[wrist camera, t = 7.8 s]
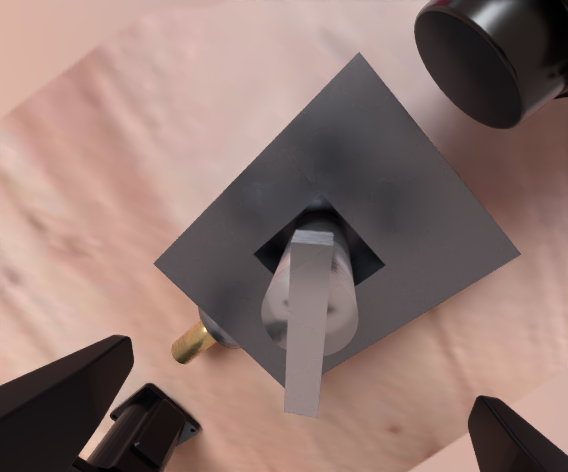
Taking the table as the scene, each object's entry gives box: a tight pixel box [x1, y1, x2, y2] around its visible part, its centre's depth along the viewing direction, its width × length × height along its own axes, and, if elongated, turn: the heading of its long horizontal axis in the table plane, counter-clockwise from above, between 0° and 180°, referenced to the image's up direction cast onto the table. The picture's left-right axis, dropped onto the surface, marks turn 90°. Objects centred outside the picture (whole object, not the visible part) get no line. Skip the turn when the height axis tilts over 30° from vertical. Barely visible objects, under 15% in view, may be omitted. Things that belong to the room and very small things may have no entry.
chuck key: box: [261, 212, 358, 418], centre depth 13 cm, size 6×3×9 cm, turn 179°
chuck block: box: [154, 52, 521, 388], centre depth 18 cm, size 20×11×5 cm, turn 134°
